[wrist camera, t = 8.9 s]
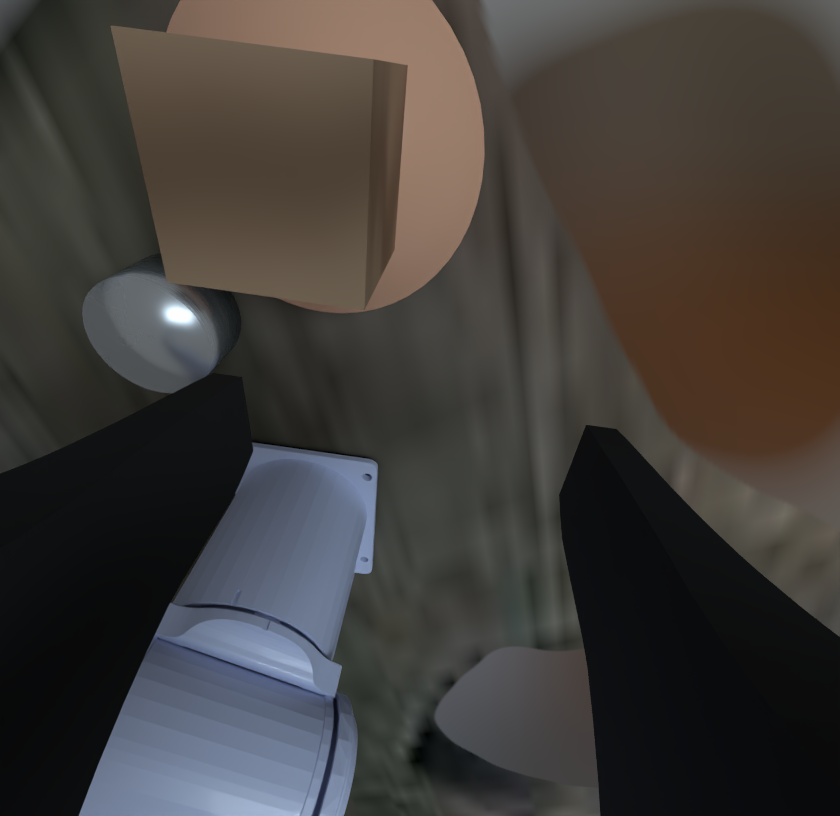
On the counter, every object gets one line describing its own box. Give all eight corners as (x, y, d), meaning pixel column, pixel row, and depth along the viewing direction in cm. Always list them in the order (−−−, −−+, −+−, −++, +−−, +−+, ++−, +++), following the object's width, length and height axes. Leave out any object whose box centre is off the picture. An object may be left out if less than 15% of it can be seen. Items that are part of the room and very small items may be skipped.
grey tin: (248, 364, 22) (220, 400, 20) (146, 351, 22) (105, 384, 20) (233, 260, 19) (197, 286, 17) (115, 245, 19) (63, 269, 17)
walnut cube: (394, 249, 16) (364, 310, 12) (248, 229, 16) (167, 282, 12) (407, 65, 13) (373, 59, 9) (227, 42, 13) (110, 25, 9)
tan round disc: (461, 302, 19) (458, 329, 17) (221, 271, 19) (191, 294, 17) (511, -28, 13) (517, -48, 11) (168, -66, 14) (113, -91, 11)
